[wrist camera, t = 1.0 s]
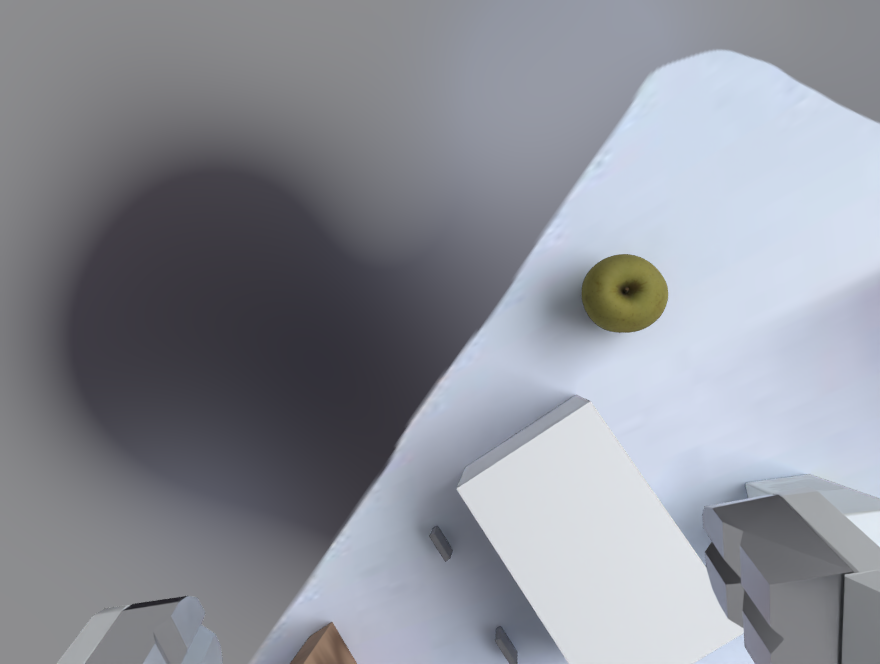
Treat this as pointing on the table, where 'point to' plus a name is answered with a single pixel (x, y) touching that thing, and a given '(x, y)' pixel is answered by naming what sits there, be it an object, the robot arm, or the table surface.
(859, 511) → the small box
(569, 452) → the cabinet
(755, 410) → the table surface
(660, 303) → the apple
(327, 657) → the door
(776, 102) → the table surface
